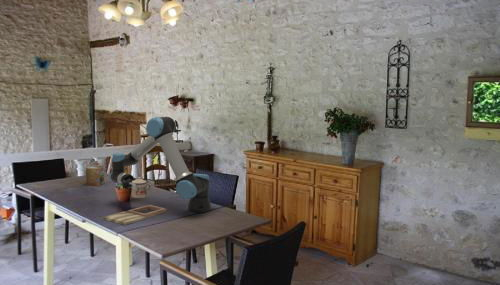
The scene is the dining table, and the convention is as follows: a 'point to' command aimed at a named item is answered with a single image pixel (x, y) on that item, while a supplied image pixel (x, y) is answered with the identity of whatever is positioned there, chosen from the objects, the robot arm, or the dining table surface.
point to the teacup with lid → (140, 188)
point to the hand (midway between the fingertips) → (144, 185)
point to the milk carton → (95, 174)
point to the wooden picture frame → (158, 211)
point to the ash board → (124, 218)
